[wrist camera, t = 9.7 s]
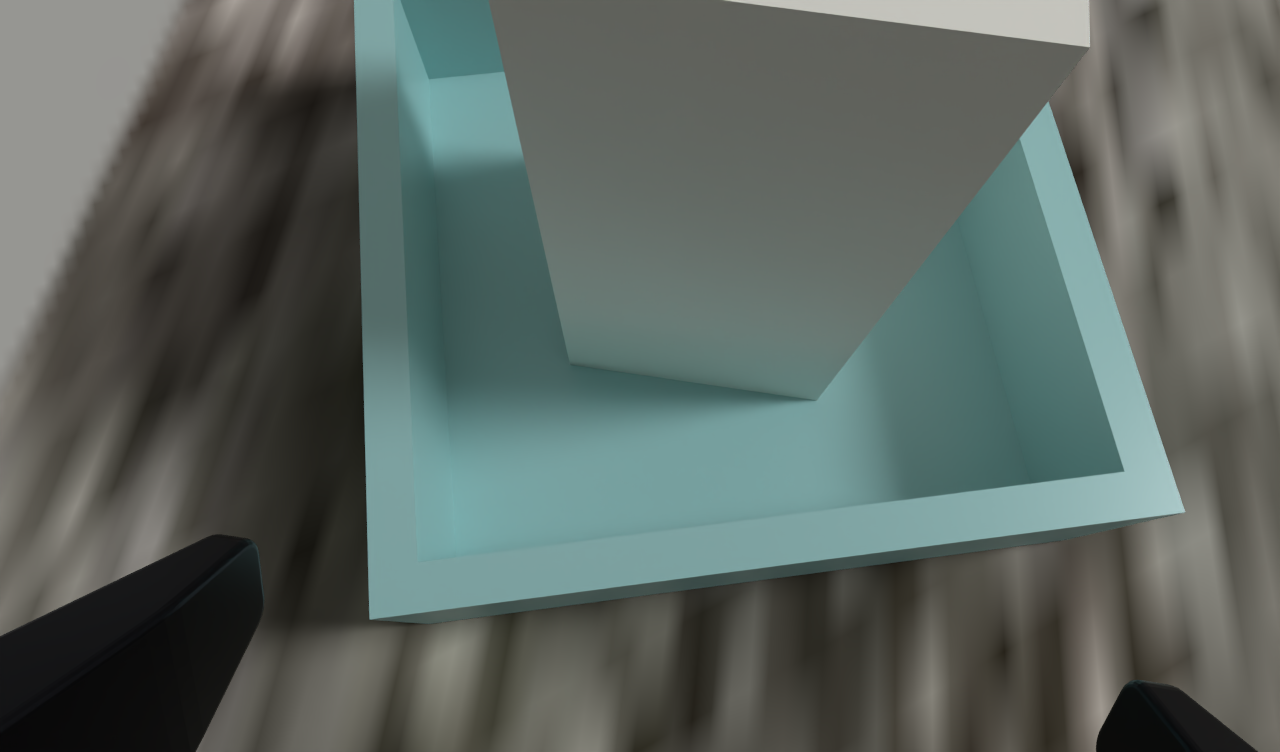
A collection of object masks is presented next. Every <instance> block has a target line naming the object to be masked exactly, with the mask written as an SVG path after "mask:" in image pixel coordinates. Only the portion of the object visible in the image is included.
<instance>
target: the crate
mask: <svg viewBox="0 0 1280 752" xmlns="http://www.w3.org/2000/svg"><path fill="white" fill-rule="evenodd" d="M354 17H355V57H356V97H357V138H358V178H359V218H360V258H361V299H362V339H363V379H364V420H365V460H366V500H367V540H368V581H369V620H382V621H395V622H408V623H421V624H433V623H441V622H448V621H456V620H463V619H471V618H479V617H486V616H494V615H501V614H509V613H516V612H524V611H532V610H539V609H547V608H554V607H562V606H569V605H577V604H585V603H592V602H600V601H607V600H615V599H622V598H630V597H638V596H645V595H653V594H660V593H668V592H675V591H683V590H691V589H698V588H706V587H713V586H721V585H728V584H736V583H744V582H751V581H759V580H766V579H774V578H781V577H789V576H797V575H804V574H812V573H819V572H827V571H834V570H842V569H850V568H857V567H865V566H872V565H880V564H887V563H895V562H903V561H910V560H918V559H925V558H933V557H940V556H948V555H956V554H963V553H971V552H978V551H986V550H993V549H1001V548H1009V547H1016V546H1024V545H1031V544H1039V543H1046V542H1054V541H1062V540H1067V539H1072V538H1076V537H1080V536H1085V535H1089V534H1093V533H1098V532H1102V531H1106V530H1111V529H1115V528H1119V527H1124V526H1128V525H1132V524H1137V523H1141V522H1146V521H1150V520H1154V519H1159V518H1163V517H1167V516H1172V515H1176V514H1180V513H1185V510H1184V507H1183V504H1182V501H1181V498H1180V495H1179V492H1178V489H1177V486H1176V483H1175V480H1174V477H1173V474H1172V471H1171V468H1170V465H1169V462H1168V459H1167V456H1166V453H1165V450H1164V447H1163V444H1162V441H1161V438H1160V435H1159V432H1158V429H1157V426H1156V423H1155V420H1154V417H1153V414H1152V411H1151V408H1150V405H1149V402H1148V399H1147V396H1146V393H1145V390H1144V387H1143V384H1142V381H1141V378H1140V375H1139V372H1138V369H1137V366H1136V363H1135V360H1134V357H1133V354H1132V351H1131V348H1130V345H1129V342H1128V339H1127V336H1126V333H1125V330H1124V327H1123V324H1122V321H1121V318H1120V315H1119V312H1118V309H1117V306H1116V303H1115V300H1114V297H1113V294H1112V291H1111V288H1110V285H1109V282H1108V279H1107V276H1106V273H1105V270H1104V267H1103V264H1102V261H1101V258H1100V255H1099V252H1098V249H1097V246H1096V243H1095V240H1094V237H1093V234H1092V231H1091V228H1090V225H1089V222H1088V219H1087V216H1086V213H1085V210H1084V207H1083V204H1082V201H1081V198H1080V195H1079V192H1078V189H1077V186H1076V183H1075V180H1074V177H1073V174H1072V171H1071V168H1070V165H1069V162H1068V159H1067V156H1066V153H1065V150H1064V147H1063V144H1062V141H1061V138H1060V135H1059V132H1058V129H1057V126H1056V123H1055V120H1054V117H1053V114H1052V111H1051V108H1050V105H1049V102H1047V104H1046V105H1045V106H1044V108H1043V109H1042V110H1041V111H1040V113H1039V114H1038V115H1037V117H1036V118H1035V119H1034V120H1033V122H1032V123H1031V124H1030V126H1029V127H1028V128H1027V129H1026V131H1025V132H1024V133H1023V135H1022V136H1021V137H1020V139H1019V140H1018V141H1017V142H1016V144H1015V145H1014V146H1013V148H1012V149H1011V150H1010V151H1009V153H1008V154H1007V155H1006V157H1005V158H1004V159H1003V160H1002V162H1001V163H1000V164H999V166H998V167H997V168H996V170H995V171H994V172H993V173H992V175H991V176H990V177H989V179H988V180H987V181H986V182H985V184H984V185H983V186H982V188H981V189H980V190H979V191H978V193H977V194H976V195H975V197H974V198H973V199H972V201H971V202H970V203H969V204H968V206H967V207H966V208H965V210H964V211H963V212H962V213H961V215H960V216H959V217H958V219H957V220H956V221H955V222H954V224H953V225H952V226H951V228H950V229H949V230H948V232H947V233H946V234H945V235H944V237H943V238H942V239H941V241H940V242H939V243H938V244H937V246H936V247H935V248H934V250H933V251H932V252H931V254H930V255H929V256H928V257H927V259H926V260H925V261H924V263H923V264H922V265H921V266H920V268H919V269H918V270H917V272H916V273H915V274H914V275H913V277H912V278H911V279H910V281H909V282H908V283H907V285H906V286H905V287H904V288H903V290H902V291H901V292H900V294H899V295H898V296H897V297H896V299H895V300H894V301H893V303H892V304H891V305H890V306H889V308H888V309H887V310H886V312H885V313H884V314H883V316H882V317H881V318H880V319H879V321H878V322H877V323H876V325H875V326H874V327H873V328H872V330H871V331H870V332H869V334H868V335H867V336H866V337H865V339H864V340H863V341H862V343H861V344H860V345H859V347H858V348H857V349H856V350H855V352H854V353H853V354H852V356H851V357H850V358H849V359H848V361H847V362H846V363H845V365H844V366H843V367H842V368H841V370H840V371H839V372H838V374H837V375H836V376H835V378H834V379H833V380H832V381H831V383H830V384H829V385H828V387H827V388H826V389H825V390H824V392H823V393H822V394H821V396H820V397H819V398H818V399H817V400H810V399H803V398H796V397H789V396H782V395H775V394H769V393H762V392H755V391H748V390H741V389H734V388H727V387H720V386H713V385H707V384H700V383H693V382H686V381H679V380H672V379H665V378H658V377H651V376H645V375H638V374H631V373H624V372H617V371H610V370H603V369H596V368H590V367H583V366H576V365H570V362H569V358H568V354H567V349H566V345H565V340H564V336H563V331H562V327H561V322H560V318H559V313H558V309H557V304H556V300H555V295H554V291H553V287H552V282H551V278H550V273H549V269H548V264H547V260H546V255H545V251H544V246H543V242H542V237H541V233H540V228H539V224H538V220H537V215H536V211H535V206H534V202H533V197H532V193H531V188H530V184H529V179H528V175H527V170H526V166H525V161H524V157H523V153H522V148H521V144H520V139H519V135H518V130H517V126H516V121H515V117H514V112H513V108H512V103H511V99H510V94H509V90H508V86H507V81H506V77H505V72H504V68H503V63H502V59H501V54H500V50H499V45H498V41H497V36H496V32H495V27H494V23H493V19H492V14H491V10H490V5H489V1H488V0H354Z"/></svg>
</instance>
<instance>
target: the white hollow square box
mask: <svg viewBox="0 0 1280 752" xmlns="http://www.w3.org/2000/svg"><path fill="white" fill-rule="evenodd" d="M488 1H489V5H490V10H491V14H492V19H493V23H494V27H495V32H496V36H497V41H498V45H499V50H500V54H501V59H502V63H503V68H504V72H505V77H506V81H507V86H508V90H509V94H510V99H511V103H512V108H513V112H514V117H515V121H516V126H517V130H518V135H519V139H520V144H521V148H522V153H523V157H524V161H525V166H526V170H527V175H528V179H529V184H530V188H531V193H532V197H533V202H534V206H535V211H536V215H537V220H538V224H539V228H540V233H541V237H542V242H543V246H544V251H545V255H546V260H547V264H548V269H549V273H550V278H551V282H552V287H553V291H554V295H555V300H556V304H557V309H558V313H559V318H560V322H561V327H562V331H563V336H564V340H565V345H566V349H567V354H568V358H569V362H570V365H576V366H583V367H590V368H596V369H603V370H610V371H617V372H624V373H631V374H638V375H645V376H651V377H658V378H665V379H672V380H679V381H686V382H693V383H700V384H707V385H713V386H720V387H727V388H734V389H741V390H748V391H755V392H762V393H769V394H775V395H782V396H789V397H796V398H803V399H810V400H817V399H818V398H819V397H820V396H821V394H822V393H823V392H824V390H825V389H826V388H827V387H828V385H829V384H830V383H831V381H832V380H833V379H834V378H835V376H836V375H837V374H838V372H839V371H840V370H841V368H842V367H843V366H844V365H845V363H846V362H847V361H848V359H849V358H850V357H851V356H852V354H853V353H854V352H855V350H856V349H857V348H858V347H859V345H860V344H861V343H862V341H863V340H864V339H865V337H866V336H867V335H868V334H869V332H870V331H871V330H872V328H873V327H874V326H875V325H876V323H877V322H878V321H879V319H880V318H881V317H882V316H883V314H884V313H885V312H886V310H887V309H888V308H889V306H890V305H891V304H892V303H893V301H894V300H895V299H896V297H897V296H898V295H899V294H900V292H901V291H902V290H903V288H904V287H905V286H906V285H907V283H908V282H909V281H910V279H911V278H912V277H913V275H914V274H915V273H916V272H917V270H918V269H919V268H920V266H921V265H922V264H923V263H924V261H925V260H926V259H927V257H928V256H929V255H930V254H931V252H932V251H933V250H934V248H935V247H936V246H937V244H938V243H939V242H940V241H941V239H942V238H943V237H944V235H945V234H946V233H947V232H948V230H949V229H950V228H951V226H952V225H953V224H954V222H955V221H956V220H957V219H958V217H959V216H960V215H961V213H962V212H963V211H964V210H965V208H966V207H967V206H968V204H969V203H970V202H971V201H972V199H973V198H974V197H975V195H976V194H977V193H978V191H979V190H980V189H981V188H982V186H983V185H984V184H985V182H986V181H987V180H988V179H989V177H990V176H991V175H992V173H993V172H994V171H995V170H996V168H997V167H998V166H999V164H1000V163H1001V162H1002V160H1003V159H1004V158H1005V157H1006V155H1007V154H1008V153H1009V151H1010V150H1011V149H1012V148H1013V146H1014V145H1015V144H1016V142H1017V141H1018V140H1019V139H1020V137H1021V136H1022V135H1023V133H1024V132H1025V131H1026V129H1027V128H1028V127H1029V126H1030V124H1031V123H1032V122H1033V120H1034V119H1035V118H1036V117H1037V115H1038V114H1039V113H1040V111H1041V110H1042V109H1043V108H1044V106H1045V105H1046V104H1047V102H1048V101H1049V100H1050V98H1051V97H1052V96H1053V95H1054V93H1055V92H1056V91H1057V89H1058V88H1059V87H1060V86H1061V84H1062V83H1063V82H1064V80H1065V79H1066V78H1067V77H1068V75H1069V74H1070V73H1071V71H1072V70H1073V69H1074V67H1075V66H1076V65H1077V64H1078V62H1079V61H1080V60H1081V58H1082V57H1083V56H1084V55H1085V53H1086V52H1087V51H1088V49H1089V48H1090V23H1089V0H488Z"/></svg>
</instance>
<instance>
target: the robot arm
mask: <svg viewBox="0 0 1280 752" xmlns="http://www.w3.org/2000/svg"><path fill="white" fill-rule="evenodd" d="M263 609H264V592H263V583H262V575H261V567H260V559H259V552H258V548H257V546H256V544H255V543H254V542H253V541H252V540H250V539H247V538H240V537H234V536H228V535H211V536H209V537H206V538H204V539H202V540H200V541H198V542H196V543H194V544H192V545H190V546H187V547H185V548H183V549H181V550H179V551H177V552H175V553H173V554H171V555H169V556H167V557H165V558H162V559H160V560H158V561H156V562H154V563H152V564H150V565H148V566H146V567H144V568H142V569H139V570H137V571H135V572H133V573H131V574H129V575H127V576H125V577H123V578H121V579H119V580H117V581H114V582H112V583H110V584H108V585H106V586H104V587H102V588H100V589H98V590H96V591H94V592H91V593H89V594H87V595H85V596H83V597H81V598H79V599H77V600H75V601H73V602H71V603H69V604H66V605H64V606H62V607H60V608H58V609H56V610H54V611H52V612H50V613H48V614H46V615H43V616H41V617H39V618H37V619H35V620H33V621H31V622H29V623H27V624H25V625H23V626H21V627H18V628H16V629H14V630H12V631H10V632H8V633H6V634H4V635H2V636H0V752H196V750H197V748H198V746H199V744H200V742H201V740H202V738H203V737H204V735H205V733H206V731H207V728H208V726H209V724H210V722H211V720H212V718H213V716H214V714H215V712H216V710H217V708H218V706H219V704H220V702H221V700H222V698H223V696H224V694H225V692H226V690H227V688H228V686H229V684H230V682H231V680H232V677H233V675H234V673H235V671H236V669H237V667H238V665H239V663H240V661H241V659H242V657H243V655H244V653H245V651H246V649H247V647H248V645H249V643H250V641H251V639H252V637H253V635H254V633H255V631H256V629H257V626H258V624H259V622H260V620H261V617H262V613H263ZM1096 752H1258V751H1256V750H1255V749H1254V748H1253V747H1251V746H1250V745H1249V744H1248V743H1246V742H1245V741H1244V740H1243V739H1241V738H1240V737H1239V736H1238V735H1236V734H1235V733H1234V732H1233V731H1231V730H1230V729H1229V728H1228V727H1227V726H1225V725H1224V724H1223V723H1222V722H1220V721H1219V720H1218V719H1217V718H1215V717H1214V716H1213V715H1212V714H1210V713H1209V712H1208V711H1207V710H1205V709H1204V708H1203V707H1202V706H1200V705H1199V704H1198V703H1197V702H1195V701H1194V700H1193V699H1192V698H1190V697H1189V696H1188V695H1187V694H1185V693H1184V692H1183V691H1181V690H1180V689H1179V688H1177V687H1174V686H1171V685H1168V684H1162V683H1155V682H1149V681H1143V680H1133V681H1130V682H1129V683H1127V684H1126V685H1125V686H1124V687H1123V689H1122V690H1121V692H1120V694H1119V696H1118V698H1117V700H1116V702H1115V703H1114V705H1113V707H1112V709H1111V711H1110V713H1109V715H1108V717H1107V718H1106V720H1105V722H1104V724H1103V726H1102V728H1101V730H1100V732H1099V734H1098V738H1097V743H1096Z"/></svg>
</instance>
